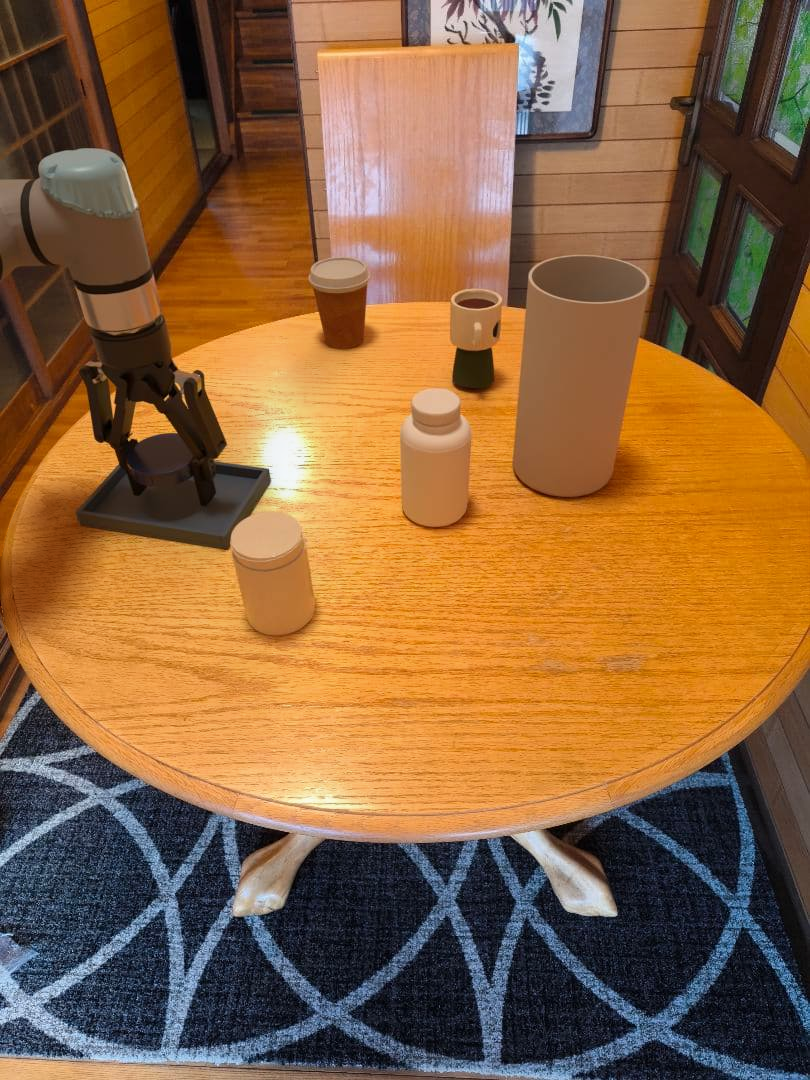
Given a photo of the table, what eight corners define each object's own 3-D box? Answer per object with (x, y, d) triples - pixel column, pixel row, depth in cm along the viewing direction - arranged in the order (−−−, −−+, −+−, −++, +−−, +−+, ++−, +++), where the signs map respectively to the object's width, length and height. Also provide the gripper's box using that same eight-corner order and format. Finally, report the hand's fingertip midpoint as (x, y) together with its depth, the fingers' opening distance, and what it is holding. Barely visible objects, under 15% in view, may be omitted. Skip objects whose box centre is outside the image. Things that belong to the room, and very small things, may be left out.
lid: (214, 450, 92) (211, 437, 91) (182, 492, 86) (178, 478, 85) (152, 441, 94) (148, 428, 93) (116, 481, 88) (111, 468, 87)
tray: (79, 525, 91) (74, 512, 90) (135, 461, 101) (131, 449, 99) (227, 549, 87) (224, 536, 86) (271, 481, 97) (269, 468, 95)
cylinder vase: (566, 431, 103) (591, 246, 87) (633, 477, 95) (675, 283, 79) (492, 461, 98) (504, 272, 82) (556, 513, 90) (584, 314, 74)
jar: (235, 629, 78) (215, 552, 71) (262, 580, 83) (246, 505, 76) (301, 641, 77) (288, 564, 70) (324, 591, 82) (314, 515, 75)
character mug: (500, 401, 109) (506, 315, 101) (450, 402, 110) (452, 317, 101) (493, 363, 118) (498, 281, 109) (447, 364, 118) (448, 282, 109)
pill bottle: (447, 537, 88) (449, 427, 78) (389, 515, 91) (383, 406, 81) (480, 500, 93) (485, 392, 83) (423, 480, 96) (422, 374, 86)
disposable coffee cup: (325, 358, 120) (317, 284, 112) (308, 332, 127) (300, 261, 119) (381, 346, 123) (378, 273, 115) (362, 322, 129) (358, 251, 121)
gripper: (236, 312, 78) (267, 487, 94) (56, 294, 83) (114, 465, 98) (204, 346, 73) (242, 526, 88) (13, 325, 77) (81, 500, 92)
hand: (175, 494), depth 93 cm, fingers closed on lid, 8 cm apart
